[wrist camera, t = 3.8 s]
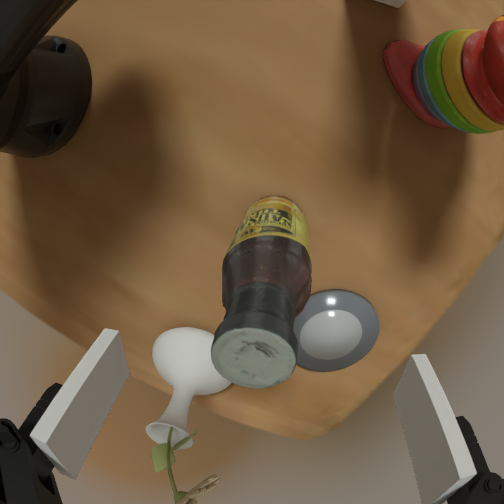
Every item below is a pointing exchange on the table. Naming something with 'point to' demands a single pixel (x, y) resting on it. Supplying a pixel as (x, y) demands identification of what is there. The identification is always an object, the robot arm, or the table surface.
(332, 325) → the coaster
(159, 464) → the flower in vase
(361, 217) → the table surface
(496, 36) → the stacking bear
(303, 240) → the sauce bottle
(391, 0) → the milk
